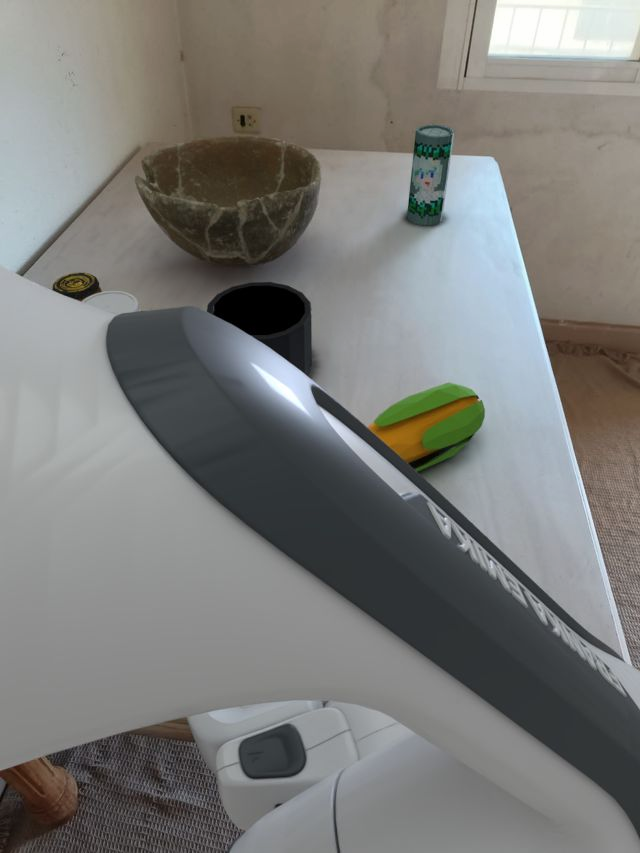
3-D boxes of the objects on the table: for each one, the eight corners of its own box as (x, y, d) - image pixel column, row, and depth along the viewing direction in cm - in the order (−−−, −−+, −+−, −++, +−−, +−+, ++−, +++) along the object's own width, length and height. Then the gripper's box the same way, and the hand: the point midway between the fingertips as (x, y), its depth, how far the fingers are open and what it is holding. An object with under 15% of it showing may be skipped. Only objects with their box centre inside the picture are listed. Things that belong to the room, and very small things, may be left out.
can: (404, 222, 112) (413, 134, 102) (411, 208, 116) (420, 122, 106) (437, 227, 111) (450, 139, 101) (444, 213, 115) (456, 126, 105)
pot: (261, 410, 75) (257, 352, 69) (194, 366, 81) (184, 310, 76) (331, 363, 82) (332, 307, 76) (264, 326, 88) (260, 271, 82)
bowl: (136, 302, 92) (114, 203, 82) (163, 221, 112) (148, 133, 102) (323, 300, 93) (324, 201, 83) (318, 219, 113) (318, 132, 102)
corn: (509, 390, 66) (352, 464, 58) (498, 445, 71) (352, 519, 63) (461, 358, 71) (310, 422, 63) (454, 411, 76) (313, 476, 68)
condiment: (83, 346, 84) (58, 266, 76) (145, 350, 84) (126, 269, 76) (62, 380, 79) (32, 297, 71) (127, 384, 78) (105, 302, 70)
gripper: (570, 661, 33) (451, 483, 43) (186, 793, 29) (152, 562, 39) (545, 715, 37) (442, 541, 47) (206, 838, 33) (171, 618, 43)
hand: (309, 551), depth 43 cm, fingers open, 8 cm apart
